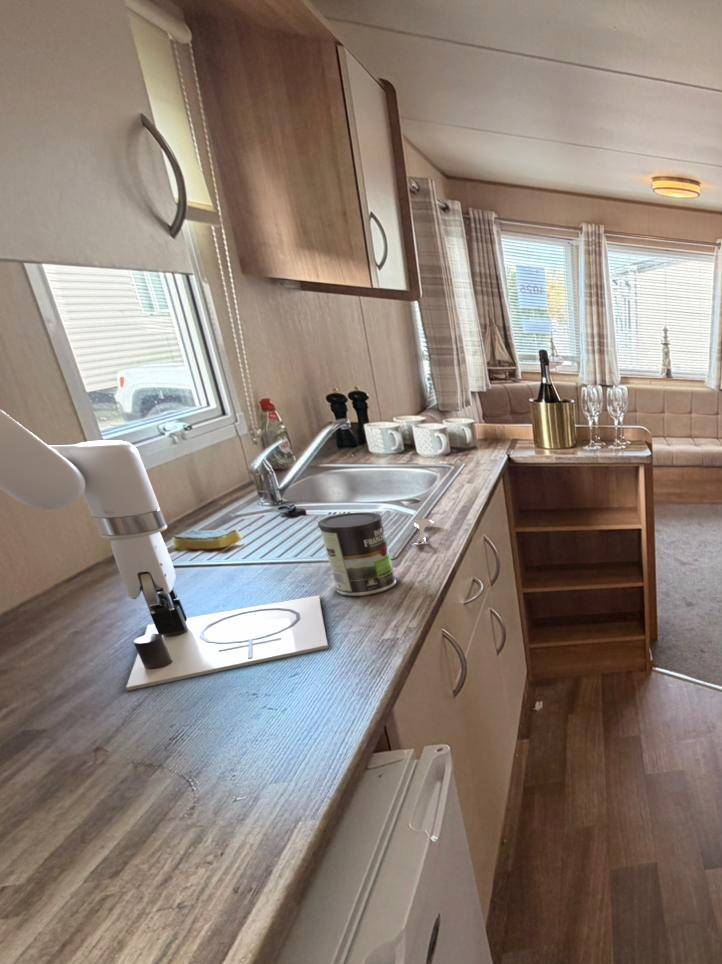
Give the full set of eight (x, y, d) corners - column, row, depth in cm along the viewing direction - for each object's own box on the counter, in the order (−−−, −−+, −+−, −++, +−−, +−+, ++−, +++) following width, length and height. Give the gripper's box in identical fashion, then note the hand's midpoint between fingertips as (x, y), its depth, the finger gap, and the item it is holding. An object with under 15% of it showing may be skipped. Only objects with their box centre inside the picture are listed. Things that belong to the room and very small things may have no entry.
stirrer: (428, 534, 147) (404, 536, 145) (431, 548, 148) (407, 551, 146) (432, 515, 164) (411, 516, 162) (435, 528, 165) (414, 530, 163)
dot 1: (143, 671, 96) (131, 645, 94) (146, 662, 98) (134, 636, 96) (172, 665, 98) (161, 639, 96) (174, 657, 100) (163, 631, 98)
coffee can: (407, 577, 134) (392, 512, 128) (377, 597, 124) (360, 528, 118) (357, 575, 133) (340, 510, 128) (324, 595, 124) (304, 526, 118)
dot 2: (161, 638, 105) (151, 614, 103) (163, 631, 107) (153, 607, 105) (187, 633, 107) (178, 609, 105) (189, 626, 109) (179, 602, 107)
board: (127, 691, 92) (125, 686, 92) (149, 627, 109) (147, 624, 109) (328, 648, 106) (327, 644, 105) (319, 598, 123) (318, 594, 123)
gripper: (106, 512, 103) (149, 614, 110) (86, 541, 91) (135, 653, 99) (169, 506, 107) (206, 605, 115) (157, 533, 95) (199, 641, 103)
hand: (173, 626), depth 106 cm, fingers closed on dot 2, 3 cm apart
